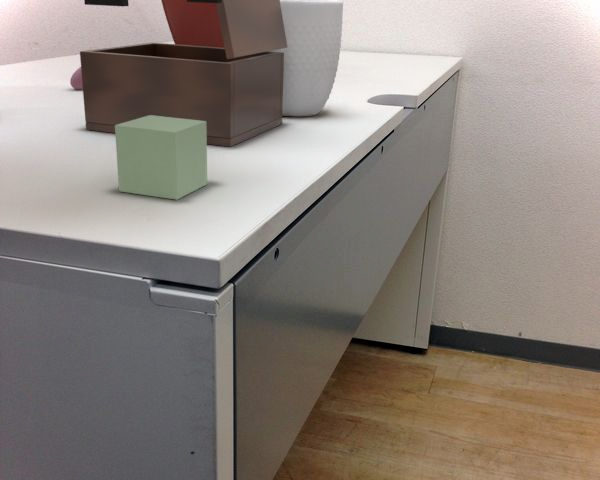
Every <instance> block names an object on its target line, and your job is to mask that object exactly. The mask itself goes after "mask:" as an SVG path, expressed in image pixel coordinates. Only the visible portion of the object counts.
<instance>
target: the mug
mask: <svg viewBox="0 0 600 480" xmlns="http://www.w3.org/2000/svg"><path fill="white" fill-rule="evenodd" d="M280 6H281V11H282V17H283V23H284V29H285V35H286V41H287V48H283V49H278V50H272V51H271V52H284V74H283V110H282V117H283V116H284V117H311V116H316V115H318V114H319V113H320V112H321V111H322V110H323V109H324V107H325V106H326V104H327V101H328V100H329V99H330V95H331V94H332V90H333V88H334V84H335V82H336V77H337V72H338V68H339V67H338V66H339V62H340V54H341V47H342V44H341V43H342V35H343V33H342V31H343V13H344V1H342V0H280Z"/></svg>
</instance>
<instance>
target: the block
mask: <svg viewBox="0 0 600 480" xmlns="http://www.w3.org/2000/svg"><path fill="white" fill-rule="evenodd" d="M114 134H115V151H116V166H117V179H118V181H117V182H118V192H121V193H127V194H134V195H142V196H149V197H155V198H162V199H169V200H176V201H178V200H180V199H181V198H183V197H185V196H187V195H190V194H191V193H193V192H195V191H197V190H199V189H200V188H203V187H205V186H207V185H208V144H207V131H206V121H200V120H191V119H182V118H172V117H163V116H154V115H149V116H145V117H142V118H138V119H135V120H131V121H128V122H124V123H121V124H117V125H115V133H114Z"/></svg>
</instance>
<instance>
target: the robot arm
mask: <svg viewBox="0 0 600 480" xmlns="http://www.w3.org/2000/svg"><path fill="white" fill-rule="evenodd" d="M83 1H84V3H83V4H84V6H85V5H86V6H103V7H104V6H107V7H129V5H130V4H129V0H83ZM187 2H200V3H222V0H187Z"/></svg>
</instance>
